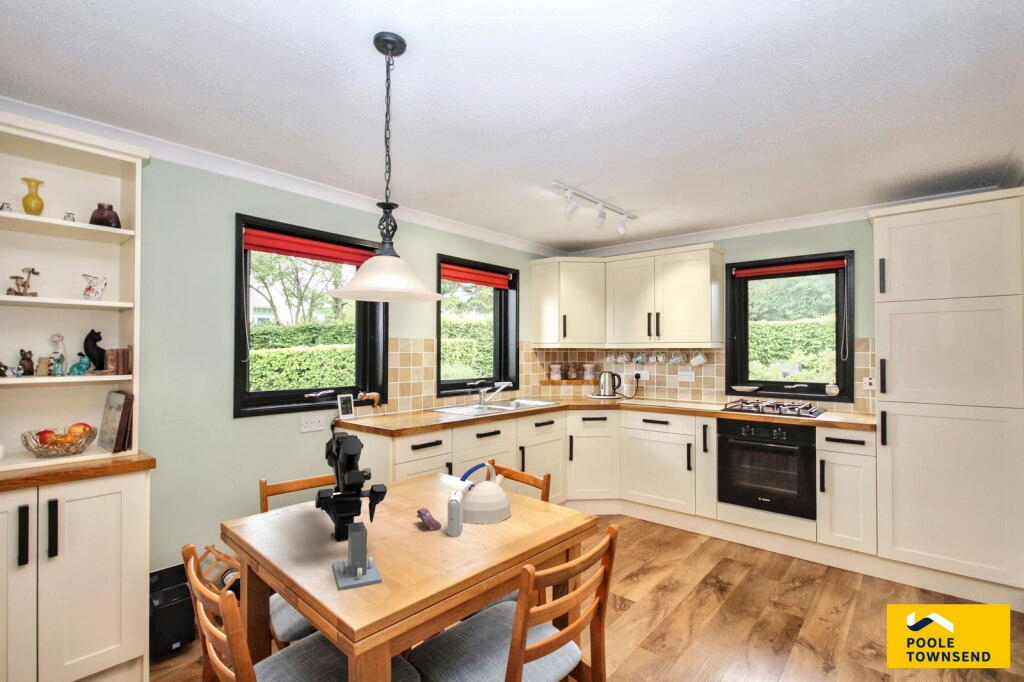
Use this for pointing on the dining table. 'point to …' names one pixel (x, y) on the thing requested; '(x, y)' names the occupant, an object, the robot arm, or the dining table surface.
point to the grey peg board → (360, 580)
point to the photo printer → (455, 513)
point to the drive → (357, 548)
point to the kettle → (484, 498)
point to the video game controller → (428, 519)
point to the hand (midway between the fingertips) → (354, 524)
